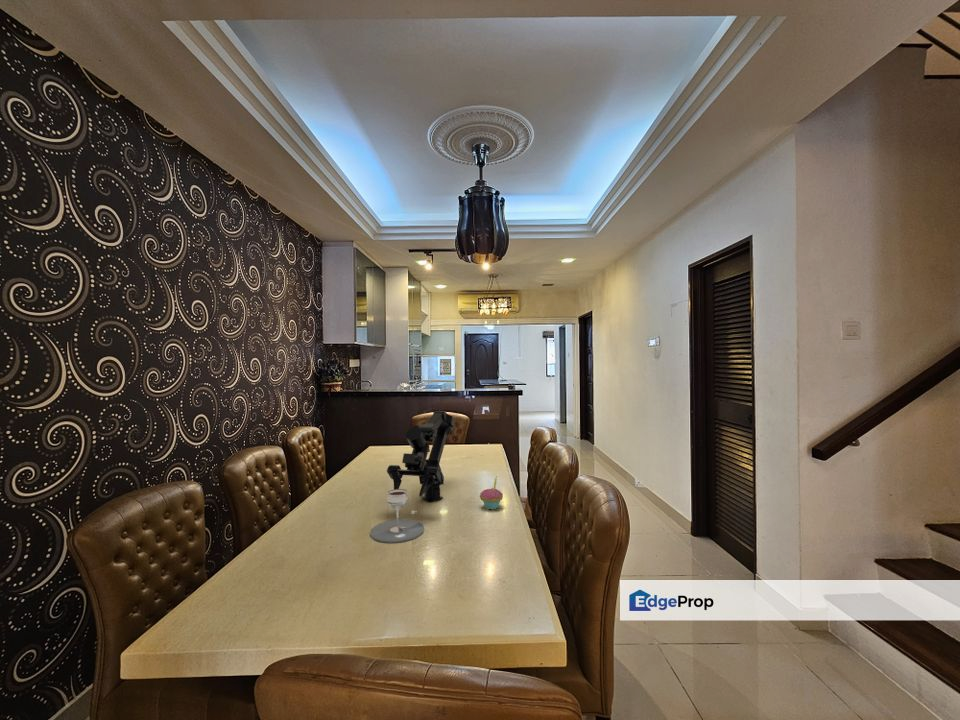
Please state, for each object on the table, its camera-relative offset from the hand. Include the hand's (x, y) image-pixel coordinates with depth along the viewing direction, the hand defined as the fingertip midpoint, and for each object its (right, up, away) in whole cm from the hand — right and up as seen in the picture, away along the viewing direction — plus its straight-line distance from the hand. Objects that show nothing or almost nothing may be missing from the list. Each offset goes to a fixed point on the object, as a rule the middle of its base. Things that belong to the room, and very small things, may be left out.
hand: (407, 495), depth 143 cm
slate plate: (-2, -9, -8) cm, 12 cm away
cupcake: (+29, -9, +13) cm, 33 cm away
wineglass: (-2, -9, -8) cm, 12 cm away
